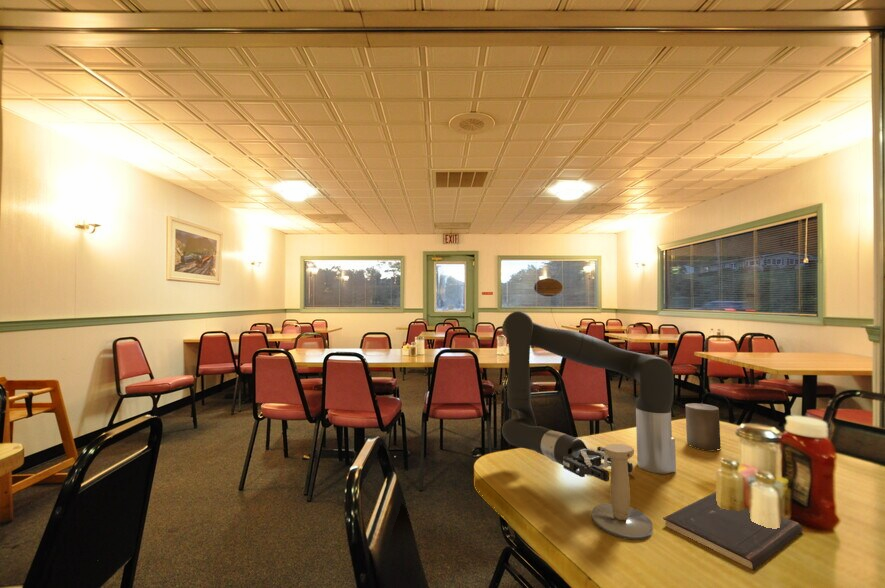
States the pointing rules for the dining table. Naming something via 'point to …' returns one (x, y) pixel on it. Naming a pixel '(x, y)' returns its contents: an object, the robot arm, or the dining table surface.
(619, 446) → the handle
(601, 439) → the dining table surface
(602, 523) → the disk
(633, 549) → the dining table surface
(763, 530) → the hardcover book
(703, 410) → the pillar candle
